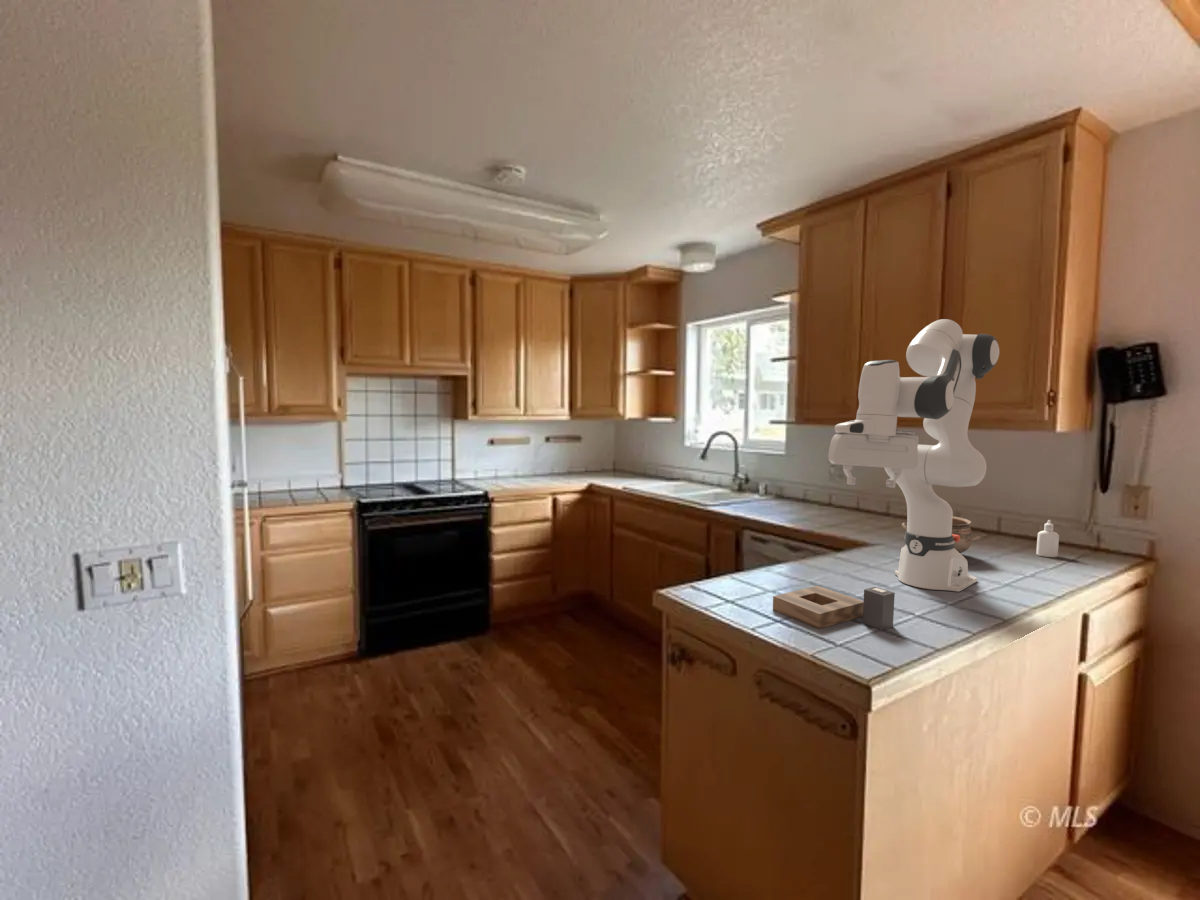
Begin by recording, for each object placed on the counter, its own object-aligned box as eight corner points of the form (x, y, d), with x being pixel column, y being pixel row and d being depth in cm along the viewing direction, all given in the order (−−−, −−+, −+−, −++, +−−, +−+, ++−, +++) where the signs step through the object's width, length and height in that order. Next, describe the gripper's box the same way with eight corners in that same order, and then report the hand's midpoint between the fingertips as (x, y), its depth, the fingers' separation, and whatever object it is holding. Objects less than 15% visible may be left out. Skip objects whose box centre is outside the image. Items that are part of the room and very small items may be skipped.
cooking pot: (993, 560, 195) (995, 522, 193) (964, 569, 184) (966, 530, 183) (916, 543, 215) (917, 510, 214) (886, 551, 205) (887, 516, 204)
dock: (817, 598, 157) (817, 585, 157) (864, 616, 145) (864, 601, 145) (772, 609, 149) (773, 596, 149) (818, 628, 137) (819, 613, 137)
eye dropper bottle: (1037, 553, 203) (1040, 517, 202) (1058, 556, 199) (1061, 520, 198) (1035, 555, 200) (1037, 519, 199) (1056, 558, 196) (1058, 522, 195)
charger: (873, 619, 143) (875, 585, 142) (892, 626, 139) (894, 591, 138) (862, 622, 141) (864, 588, 140) (881, 630, 137) (883, 594, 136)
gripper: (912, 430, 147) (907, 487, 147) (828, 425, 146) (823, 481, 147) (926, 431, 140) (921, 490, 141) (838, 425, 140) (833, 484, 141)
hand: (870, 485), depth 144 cm, fingers open, 8 cm apart
